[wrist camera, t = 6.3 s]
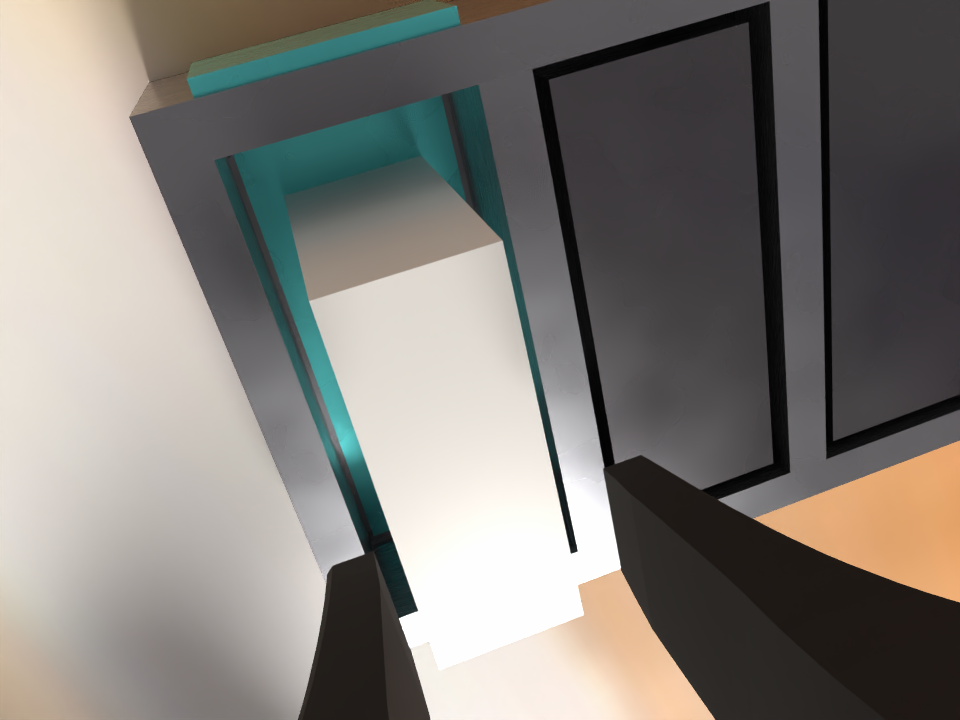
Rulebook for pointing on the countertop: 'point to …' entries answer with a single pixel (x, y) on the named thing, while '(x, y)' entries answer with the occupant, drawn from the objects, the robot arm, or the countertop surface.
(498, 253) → the block
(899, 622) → the robot arm
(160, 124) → the rack
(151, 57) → the countertop surface
